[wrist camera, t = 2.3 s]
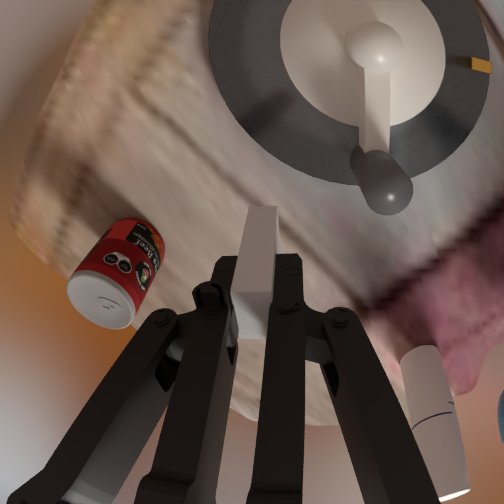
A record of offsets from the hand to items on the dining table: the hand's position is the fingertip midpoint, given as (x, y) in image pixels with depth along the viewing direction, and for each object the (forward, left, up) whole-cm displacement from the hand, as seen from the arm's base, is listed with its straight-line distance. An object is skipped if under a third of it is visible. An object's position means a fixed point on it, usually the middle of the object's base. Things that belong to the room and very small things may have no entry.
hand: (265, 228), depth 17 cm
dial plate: (-8, -10, -15) cm, 20 cm away
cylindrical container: (-22, +34, -15) cm, 43 cm away
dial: (-8, -7, -13) cm, 17 cm away
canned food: (+18, +10, -15) cm, 25 cm away
